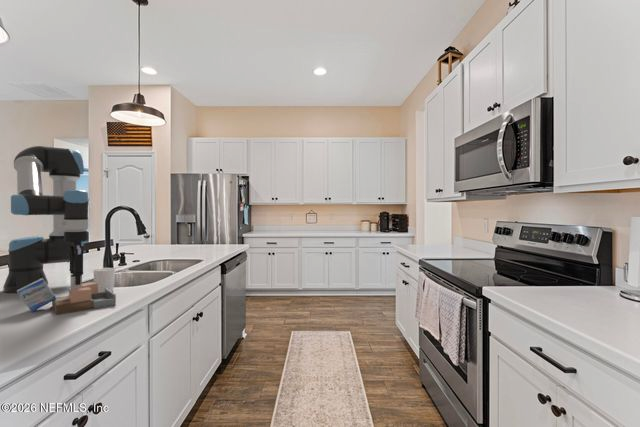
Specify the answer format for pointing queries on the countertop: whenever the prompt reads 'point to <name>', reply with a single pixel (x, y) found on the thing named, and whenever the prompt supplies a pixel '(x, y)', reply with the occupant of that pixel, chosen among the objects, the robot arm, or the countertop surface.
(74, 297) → the tile
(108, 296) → the tray
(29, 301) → the medicine box
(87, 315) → the countertop surface
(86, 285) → the tile
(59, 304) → the walnut plate
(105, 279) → the white cup
